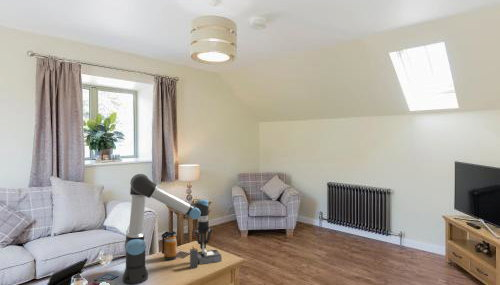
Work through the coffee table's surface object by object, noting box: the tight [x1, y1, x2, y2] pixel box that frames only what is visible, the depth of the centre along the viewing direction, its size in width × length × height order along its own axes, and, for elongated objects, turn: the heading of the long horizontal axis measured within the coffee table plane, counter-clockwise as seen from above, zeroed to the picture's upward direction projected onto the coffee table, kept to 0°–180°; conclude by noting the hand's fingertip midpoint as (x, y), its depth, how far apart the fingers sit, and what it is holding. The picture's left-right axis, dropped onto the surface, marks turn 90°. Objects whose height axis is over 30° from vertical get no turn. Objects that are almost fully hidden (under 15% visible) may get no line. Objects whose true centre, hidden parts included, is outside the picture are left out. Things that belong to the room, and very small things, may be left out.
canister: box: [161, 230, 178, 261], centre depth 229 cm, size 9×11×20 cm
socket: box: [198, 249, 222, 265], centre depth 227 cm, size 16×12×5 cm
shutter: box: [204, 248, 215, 256], centre depth 227 cm, size 7×7×3 cm
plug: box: [189, 245, 199, 269], centre depth 214 cm, size 4×4×14 cm
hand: (203, 252), depth 225 cm, fingers closed
